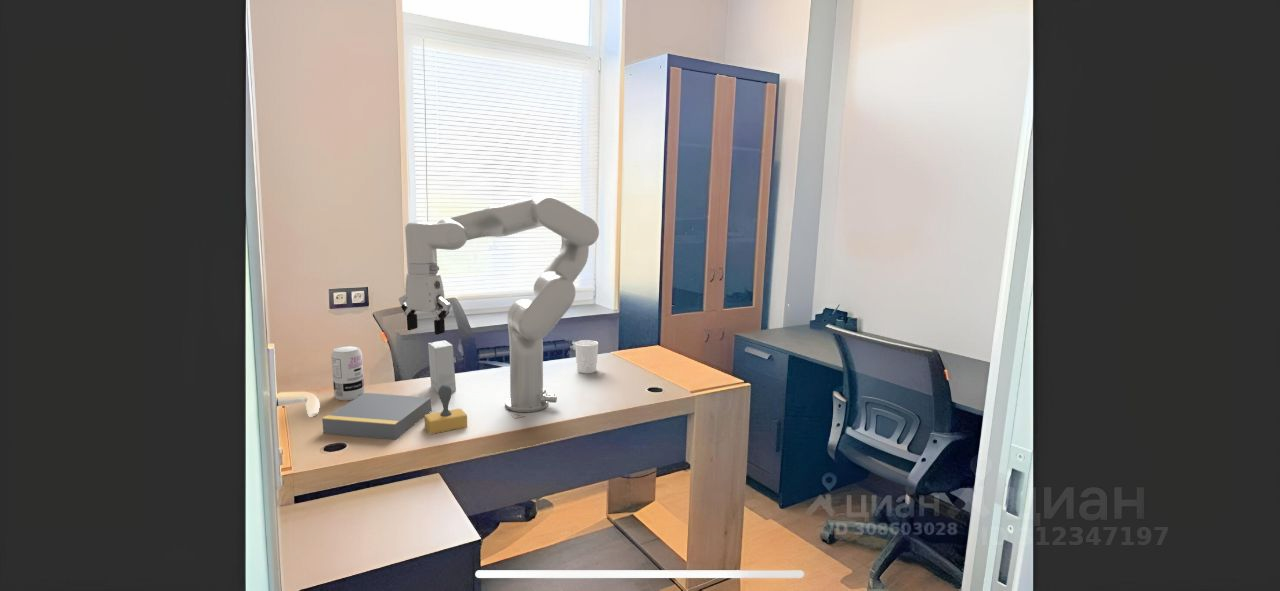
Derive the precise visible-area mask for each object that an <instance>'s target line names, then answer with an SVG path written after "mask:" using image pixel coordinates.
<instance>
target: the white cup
mask: <svg viewBox="0 0 1280 591" xmlns="http://www.w3.org/2000/svg"><path fill="white" fill-rule="evenodd" d="M574 345H575V363H576V371H577V372H578V373H581V374H594V373H595V372H597V364H598V353H599V342H598V341H596V340H590V339H584V340H578V341H576V342H575V344H574Z"/></svg>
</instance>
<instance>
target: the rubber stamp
mask: <svg viewBox="0 0 1280 591" xmlns="http://www.w3.org/2000/svg"><path fill="white" fill-rule="evenodd" d="M438 393H439V394H438ZM438 393H437V394H438V397H439V400H440V402H441V404H442V408H443V409H442V411H437V412H432V413H431V412H430V413H428V414H426V415H424V417H423V419H424V429H427V430H426V431H427V433H428V434H429V433H430V434H429V435H434V434H433V433H435V434H439V433H438V432H440V433H443V432H442V431H445V432H449V431H448V430H450V431H454V430H453V429H455V430H460V429H464V427H465V428H468V414H467V413H466V412H465V411H464V410H463V409H462V408H453V409H449V404H450V402H451V398H452V395H453V392H452V390H451V387H450V386H448V385H442V386H441V387H440V388H439V392H438ZM459 428H460V429H459Z"/></svg>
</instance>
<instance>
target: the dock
mask: <svg viewBox="0 0 1280 591" xmlns="http://www.w3.org/2000/svg"><path fill="white" fill-rule="evenodd" d="M430 411H431V412H432V411H433V410H432V398H431V397H426V396H425V397H424V396H412V395H398V394H389V393H388V394H387V393H386V394H385V393H372V392H364V394H363V395H361V396H359V397H358V398H356V399H354V400H350V401H349V402H347V403H346V404H345V405H343V406H342V407H339V408H337V409H336V410H334V411H333V412H331V413H330V414H328V415H325V416H323V417H322V419H321V421H322V431H323V432H322V433H323V434H325V433H327V435H328V434H329V435H338V436H348V437H361V438H362V437H363V438H375V439H386V440H397V439H398V438H400V437H401V436H402V435H404V434H405V433H406V432H408V431H409V430H410V429H411V428H412V427H413V426H415V425H416V424H417V423H418V422H420V421H421V420H422V419H424V415H426V414H430V413H431V412H430ZM429 412H430V413H429ZM420 419H421V420H420ZM419 420H420V421H419ZM415 423H416V424H415ZM414 424H415V425H414Z"/></svg>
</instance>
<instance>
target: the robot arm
mask: <svg viewBox="0 0 1280 591" xmlns="http://www.w3.org/2000/svg"><path fill="white" fill-rule="evenodd" d="M540 227H545V229H548V230H549V231H552V232H553V233H555V234H557V235H558V236H560V238H561V246H560V249H559V251H558V253H557V255H556V256H555V257H554V259H553V260H552V261H551V262H550V264H549V265H548V266H547V267H546V268H545V269H544V271H543V272H542V273H541V274H540V275H539V277H538V278H537V279H536V281H535V283H534V284H533V292H534V295H535V297H534V299H533V300H531V299H526V298H525V299H519V300H517V301H515V302H514V303H512V305H511V306H510V308H509V309H508V312H507V320H506V321H507V329H508V338H509V340H508V341H509V373H510V374H509V380H510V382H509V383H510V384H509V386H510V387H509V388H510V389H509V391H510V397H508V398H507V399H505V402H504V406H505V408H506V409H508V410H509V411H513V412H517V413H532V412H539V411H541V410H544V409H545V408H547V407H548V406H549V403H557V401H558V397H557V395H556V394H555V393H548V392H547V388H546V387H544V345H543V344H544V342H543V338H545V337H546V336H547V335H548V334H549V333H550V332H552V330H553V329H554V328H555V326H556V325H557V324H558V323H559V322H560V320H561V319H562V318H563V317H564V316H565V314H567V312H568V311H569V309H570V308H571V307H572V305H573V303H574V301H575V297H576V287H575V284H574V282H575V280H576V279H577V278H578V277H579V275H580V274H581V272H582V271H583V270H584V268H585V266H586V265H587V262H588V258H589V251H590V250H589V247H590V246H592V245H594V244H595V243H596V241H597V240H598V239H599V234H600V230H599V225H598V224H597V223H596V221H595V220H594V219H592V218H591V217H590V216H588V215H586V214H585V213H582V211H579V210H578V209H575V208H574V207H572V206H570V205H568V204H567V203H565V202H563V201H561V199H559V198H557V197H554V196H549V195H536V196H532V197H528V198H523V199H519V200H515V201H513V202H509V203H505V204H500V205H496V206H491V207H488V208H485V209H479V210H474V211H470V212H467V213H462V214H458V215H455V216H450V217H447V218H444V219H440V221H438V222H437V223H433V222H429V221H413V222H408V223H407V224H406V225H405V227H404V230H405V248H406V250H405V251H406V264H407V273H406V278H405V289H404V291H405V294H404V295H402V296H401V297H399V298H398V301H399V303H400V306H401V310H403V312H404V313H403V314H404V316H406V328H407V331H412V330H415V329H418V326H419V325H418V315H417V313H416V312H417V311H418V312H423V313H424V312H425V313H431V314H432V315H433V317H434V318H435V319H434V320H433V324H434V325H433V326H434V327H433V329H434V334H435V335H441V334H445V332H446V329H445V328H446V327H445V326H446V325H445V319H446V318H447V316H448V315H449V313H450V310H451V307H452V304H451V303H450V302H448V301H447V300H446V298H445V290H444V286H443V280H442V276H441V274H440V273H438V272H439V270H440V267H439V266H438V257H437V256H438V255H437V254H438V253H437V250H447V251H456V250H459V249H461V248H462V247H464V246H465V245H466V243H467V241H471V240H473V239H474V240H475V239H479V238H485V237H487V238H488V237H494V238H495V237H496V238H497V237H498V238H499V237H501V238H502V237H507V236H511V235H515V234H518V233H522V232H526V231H528V230H533V229H537V228H540Z"/></svg>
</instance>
